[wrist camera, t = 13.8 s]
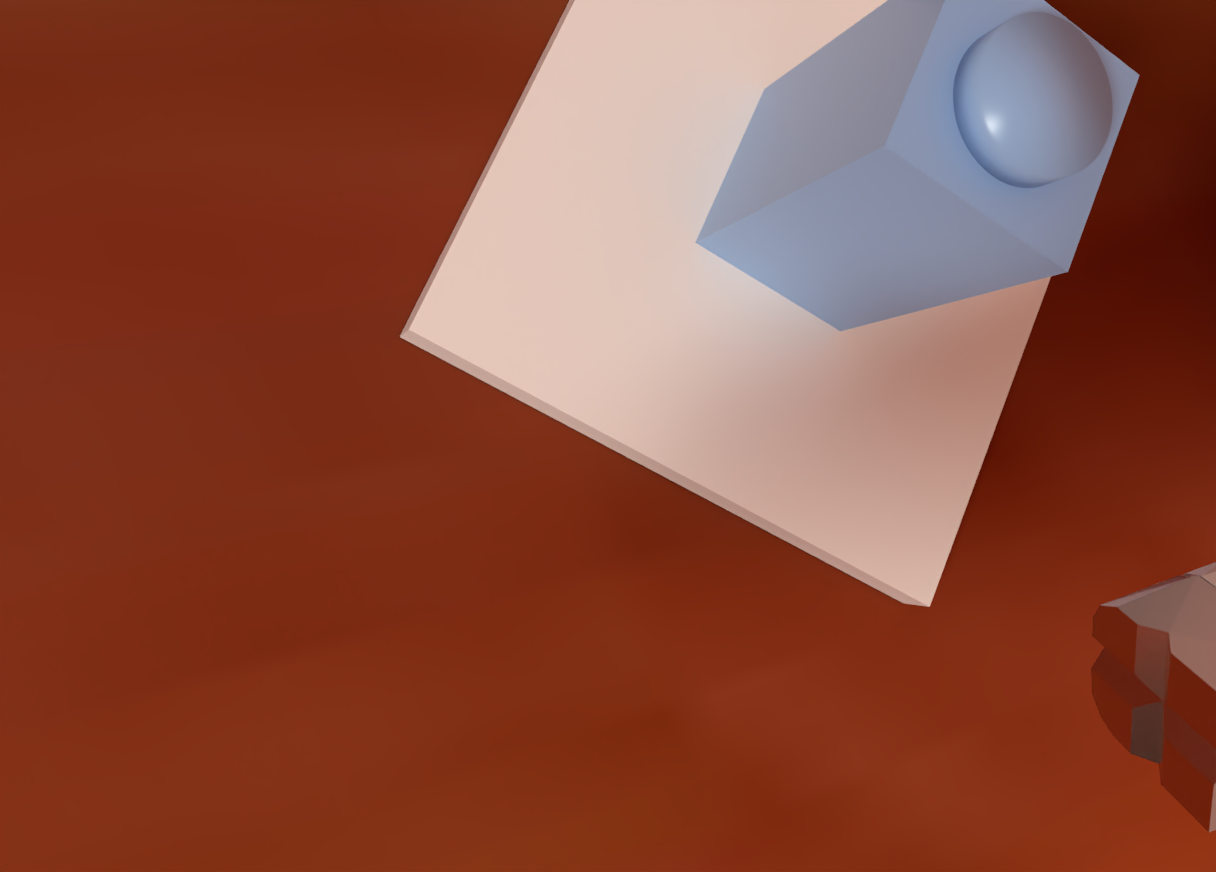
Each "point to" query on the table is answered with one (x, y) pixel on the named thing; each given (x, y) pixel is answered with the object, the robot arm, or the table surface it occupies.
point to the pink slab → (711, 299)
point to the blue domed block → (922, 159)
